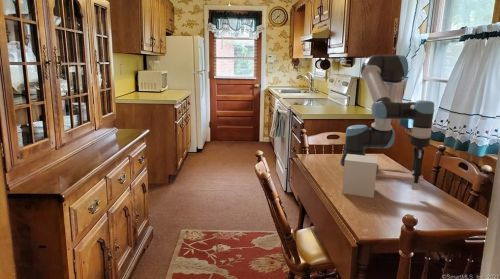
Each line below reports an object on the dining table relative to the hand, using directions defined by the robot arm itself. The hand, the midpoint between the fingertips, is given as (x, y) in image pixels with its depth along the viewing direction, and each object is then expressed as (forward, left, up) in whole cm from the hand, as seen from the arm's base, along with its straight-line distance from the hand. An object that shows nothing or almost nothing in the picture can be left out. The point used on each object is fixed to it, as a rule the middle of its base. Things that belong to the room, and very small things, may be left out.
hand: (414, 187), depth 165 cm
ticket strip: (0, -9, +4) cm, 10 cm away
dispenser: (0, -24, -5) cm, 24 cm away
